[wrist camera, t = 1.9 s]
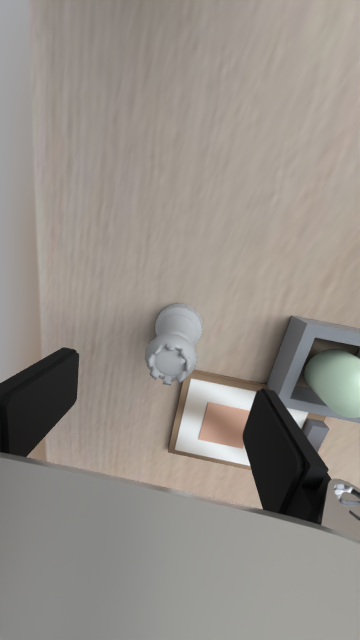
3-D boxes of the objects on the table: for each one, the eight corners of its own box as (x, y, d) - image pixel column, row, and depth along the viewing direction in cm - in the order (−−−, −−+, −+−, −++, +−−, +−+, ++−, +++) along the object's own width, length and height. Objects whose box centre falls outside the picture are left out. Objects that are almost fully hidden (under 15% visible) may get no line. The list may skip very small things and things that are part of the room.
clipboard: (185, 368, 20) (185, 376, 18) (329, 397, 19) (341, 408, 18) (168, 447, 23) (166, 460, 21) (292, 474, 23) (299, 489, 21)
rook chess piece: (170, 352, 19) (154, 408, 12) (148, 314, 18) (116, 349, 11) (210, 334, 19) (220, 382, 11) (189, 294, 18) (185, 315, 10)
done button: (315, 344, 16) (340, 361, 13) (366, 354, 16) (403, 373, 13) (296, 387, 18) (316, 411, 15) (344, 397, 17) (374, 423, 15)
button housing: (291, 315, 17) (307, 323, 15) (379, 332, 17) (408, 343, 15) (265, 388, 20) (274, 405, 17) (341, 404, 20) (362, 423, 17)
